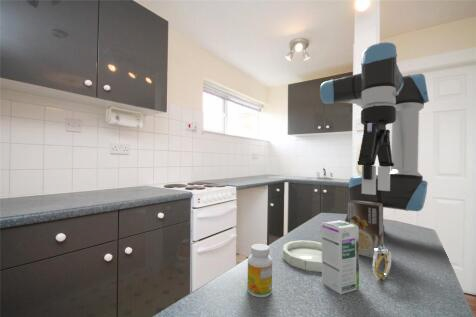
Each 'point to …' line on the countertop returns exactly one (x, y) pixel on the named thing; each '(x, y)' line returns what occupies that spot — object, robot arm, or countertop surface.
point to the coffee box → (367, 225)
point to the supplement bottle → (259, 271)
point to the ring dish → (304, 254)
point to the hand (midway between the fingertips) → (376, 192)
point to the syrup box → (340, 256)
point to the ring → (376, 263)
